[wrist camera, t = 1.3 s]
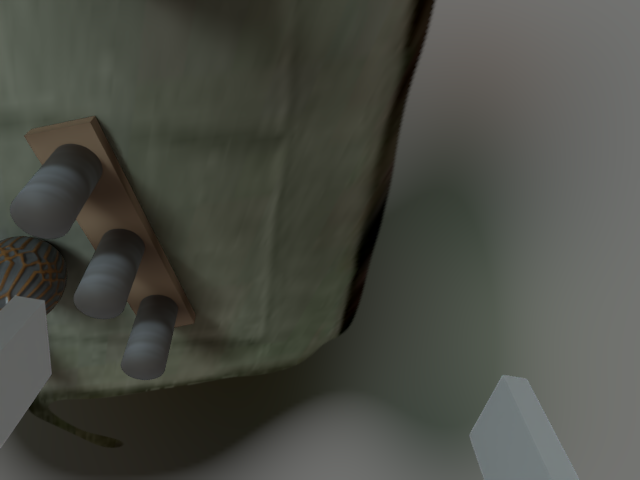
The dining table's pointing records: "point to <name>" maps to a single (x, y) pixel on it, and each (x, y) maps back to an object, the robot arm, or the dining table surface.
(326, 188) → the dining table surface
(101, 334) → the dining table surface
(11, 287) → the vase
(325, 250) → the dining table surface
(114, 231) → the spacer rack
